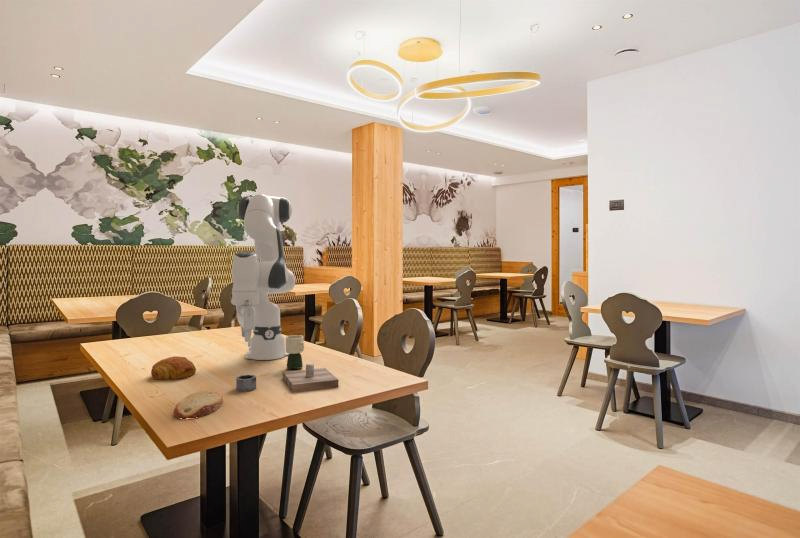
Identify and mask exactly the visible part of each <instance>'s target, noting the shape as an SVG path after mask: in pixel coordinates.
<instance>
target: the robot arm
mask: <svg viewBox="0 0 800 538" xmlns="http://www.w3.org/2000/svg"><path fill="white" fill-rule="evenodd" d="M292 213H293V206H292V203H291V200H289V199H288V198H287V197H283V196H281V197H279V196H272V195H267V194H264V193H263V194H262V193H258V194H255V195H253V196H250V195H249V196H248V195H246V196H242V197H240V199H239V201H238V204H237V214H238V216H239V218H240V219H241V220H242V221H243V228H244V229H243V230H244V232H245V233H246V234H247V236H248V237H250V238H251V239H253V240H254V249H253V250H254V251H239V252H236V253H235V254H233V258H232V259H233V260H232V266H231V280H232V289H231V301H232V302H231V303H232V304H231V305H233V306H235V310H236V318H237V322H238V323H239V325H240V331H241V336H242V338H244V342H245V343H247V347H249V348H248V350H247V352H246V354H245V358H244V359H246V360H256V361H257V360H258V361H269V360H278V359H282V358H284V357H286V356H287V357H288V355H289V353H286V337H284V335H282V324H281V310H280V307H279V305H278V304H276V303H275V302H272V301H270V299H269V297H268V296H269V295H273V294H274V295H276V294H285V293H288V292H291V291H292V290H293V289H294V288H295V286H296V282H297V281H296V276H295V275H294V273H293V272H292V271H291V269H289V268H288V267H287V265H286V259H285V251H284V243H283V237H282V232H281V226H280V224H281V225H283V224H284V223H286V222H288V221H289V220H290V218H291V216H292ZM252 333H253V335H252Z"/></svg>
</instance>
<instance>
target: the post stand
mask: <svg viewBox="0 0 800 538" xmlns="http://www.w3.org/2000/svg"><path fill="white" fill-rule="evenodd" d="M282 380H283V381H284V382H285V383H286V385H287V386H288V388H289V389H290V391H291V392H292V393H296V392H303V391H313V390H314V391H315V390H321V389H323V390H324V389H329V388H338V387H339V379H338V377H336V376H335V375H334V374H332V372H331V371H329V369H327V368H326V367H320V368H319V367H318V368H315V364H313V363H306V364H305V369H301V370H300V369H296V370H288V371H282Z"/></svg>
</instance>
